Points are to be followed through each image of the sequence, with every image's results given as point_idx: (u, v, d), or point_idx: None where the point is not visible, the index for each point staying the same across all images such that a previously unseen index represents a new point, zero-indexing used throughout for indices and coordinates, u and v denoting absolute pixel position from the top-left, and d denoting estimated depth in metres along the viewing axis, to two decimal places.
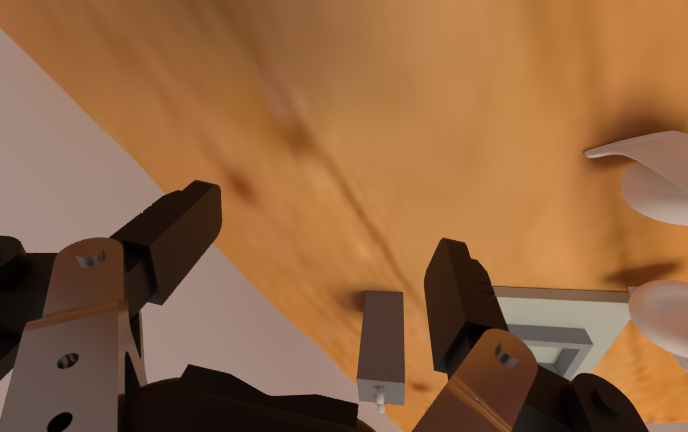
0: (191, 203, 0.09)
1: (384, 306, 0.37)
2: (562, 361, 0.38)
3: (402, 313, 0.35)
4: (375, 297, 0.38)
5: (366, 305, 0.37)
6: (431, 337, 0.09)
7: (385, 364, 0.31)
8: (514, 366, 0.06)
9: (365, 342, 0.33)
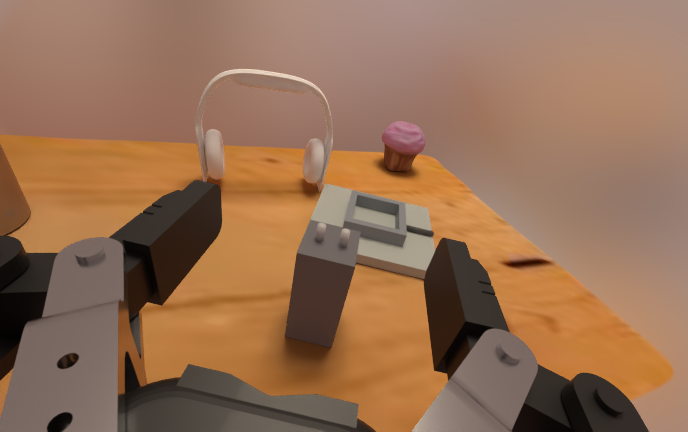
0: (191, 203, 0.09)
1: None
2: (384, 208, 0.48)
3: None
4: None
5: (287, 320, 0.29)
6: (431, 337, 0.09)
7: None
8: (514, 366, 0.06)
9: None
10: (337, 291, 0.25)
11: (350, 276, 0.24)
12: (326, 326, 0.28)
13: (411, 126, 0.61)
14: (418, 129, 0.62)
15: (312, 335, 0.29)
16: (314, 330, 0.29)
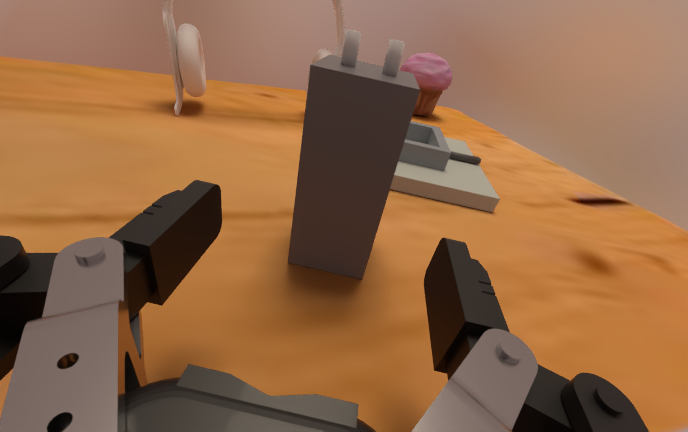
0: (191, 203, 0.09)
1: None
2: (413, 134, 0.37)
3: None
4: None
5: (292, 230, 0.18)
6: (431, 337, 0.09)
7: None
8: (514, 366, 0.06)
9: None
10: (382, 154, 0.14)
11: (408, 115, 0.13)
12: (356, 237, 0.17)
13: (436, 55, 0.51)
14: (444, 60, 0.51)
15: (332, 256, 0.18)
16: (336, 245, 0.17)
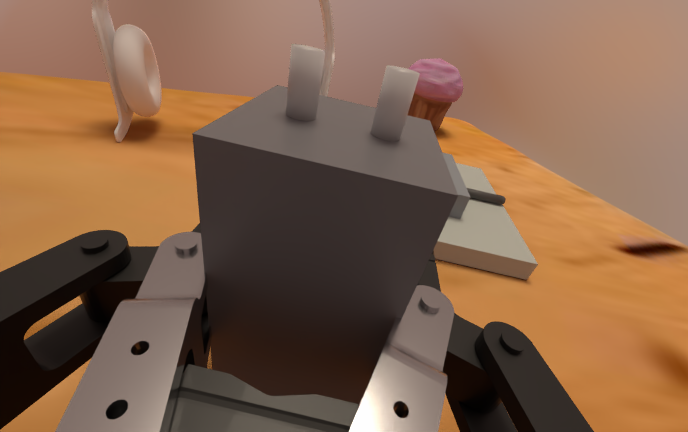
0: None
1: None
2: None
3: None
4: None
5: None
6: None
7: None
8: (431, 314, 0.07)
9: None
10: (369, 304, 0.07)
11: (428, 243, 0.06)
12: None
13: (444, 62, 0.43)
14: (454, 67, 0.44)
15: None
16: None
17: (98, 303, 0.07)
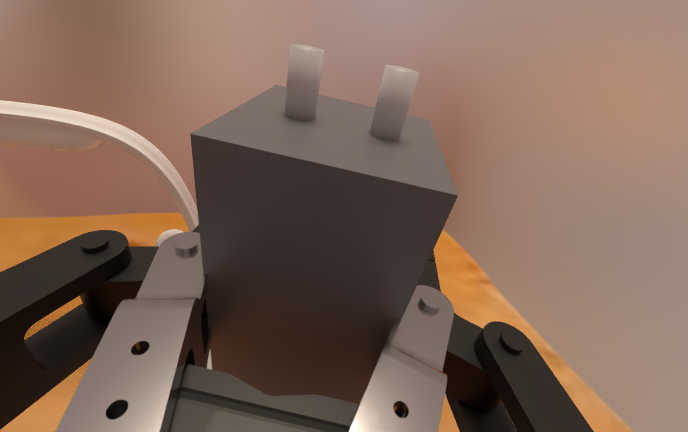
0: None
1: None
2: None
3: None
4: None
5: None
6: None
7: None
8: (431, 314, 0.07)
9: None
10: (368, 304, 0.07)
11: (427, 243, 0.06)
12: None
13: None
14: None
15: None
16: None
17: (98, 303, 0.07)
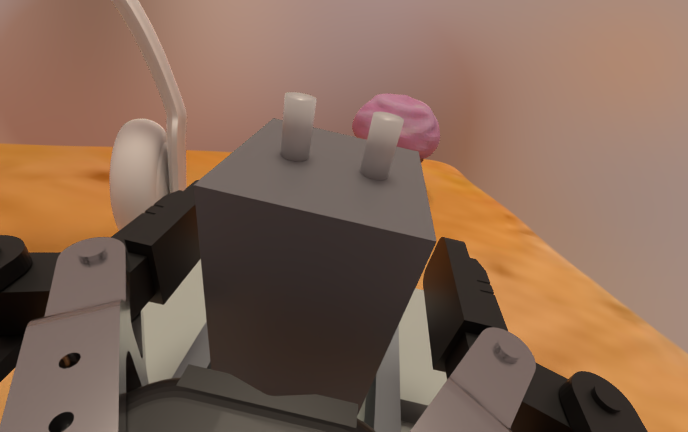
0: (192, 203, 0.09)
1: None
2: None
3: None
4: None
5: None
6: (430, 336, 0.09)
7: None
8: (512, 365, 0.06)
9: None
10: (358, 332, 0.07)
11: (410, 281, 0.06)
12: None
13: (411, 101, 0.29)
14: (427, 107, 0.30)
15: None
16: None
17: (3, 315, 0.07)
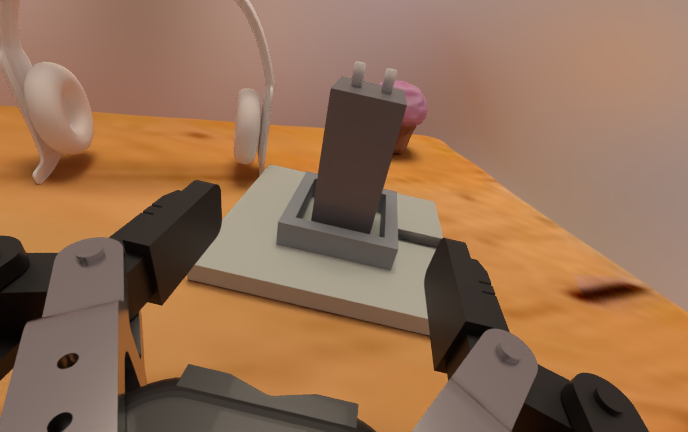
0: (191, 203, 0.09)
1: None
2: None
3: None
4: None
5: (313, 209, 0.23)
6: (431, 337, 0.09)
7: None
8: (514, 366, 0.06)
9: None
10: (380, 150, 0.20)
11: (399, 122, 0.19)
12: (361, 213, 0.23)
13: (406, 84, 0.42)
14: (417, 89, 0.42)
15: None
16: (346, 220, 0.23)
17: (0, 315, 0.07)
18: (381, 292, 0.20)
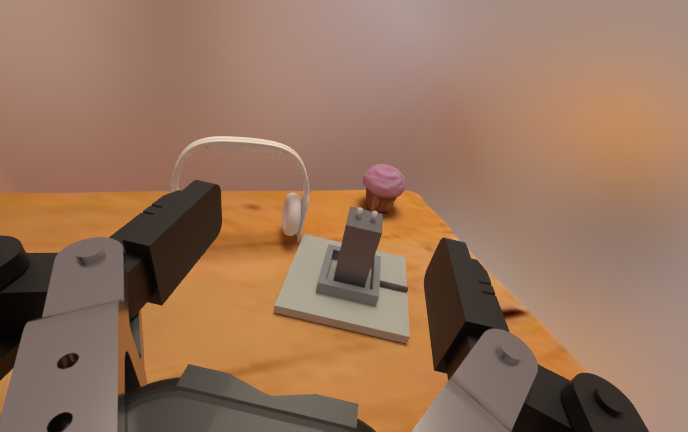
0: (191, 203, 0.09)
1: None
2: None
3: None
4: (334, 274, 0.45)
5: None
6: (431, 337, 0.09)
7: None
8: (514, 366, 0.06)
9: (341, 246, 0.41)
10: (370, 250, 0.40)
11: (378, 239, 0.39)
12: (360, 276, 0.43)
13: (390, 170, 0.62)
14: (398, 173, 0.63)
15: (350, 283, 0.44)
16: (352, 279, 0.44)
17: (0, 315, 0.07)
18: (370, 319, 0.41)
